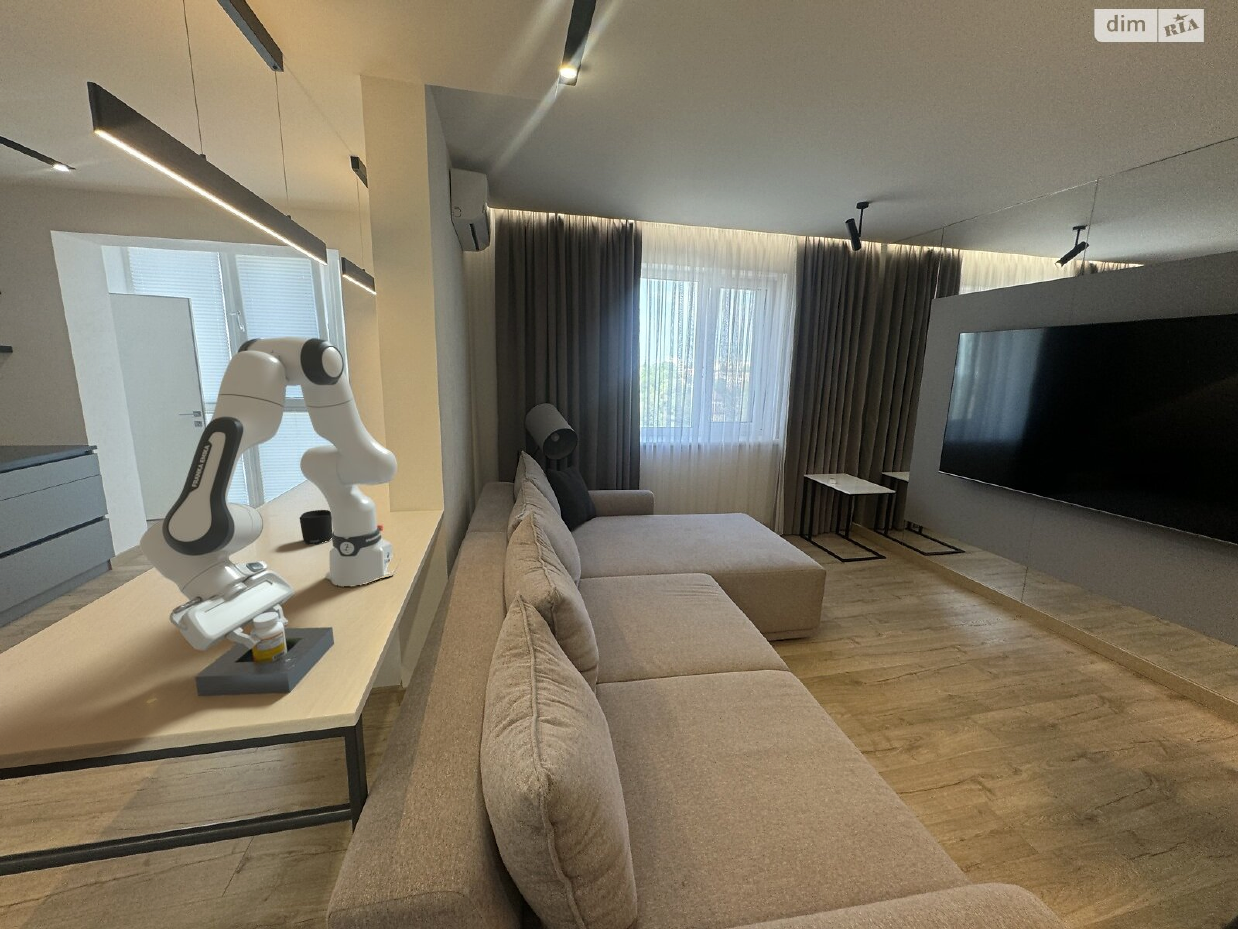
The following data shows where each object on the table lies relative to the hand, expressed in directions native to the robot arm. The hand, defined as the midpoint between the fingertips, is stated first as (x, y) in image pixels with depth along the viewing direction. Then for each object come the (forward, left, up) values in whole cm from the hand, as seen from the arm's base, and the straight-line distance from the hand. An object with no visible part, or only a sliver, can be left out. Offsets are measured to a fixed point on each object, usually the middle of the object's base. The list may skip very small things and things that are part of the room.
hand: (270, 635), depth 92 cm
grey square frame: (0, -1, -7) cm, 7 cm away
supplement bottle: (0, -1, -6) cm, 6 cm away
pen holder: (-74, -31, -7) cm, 81 cm away
